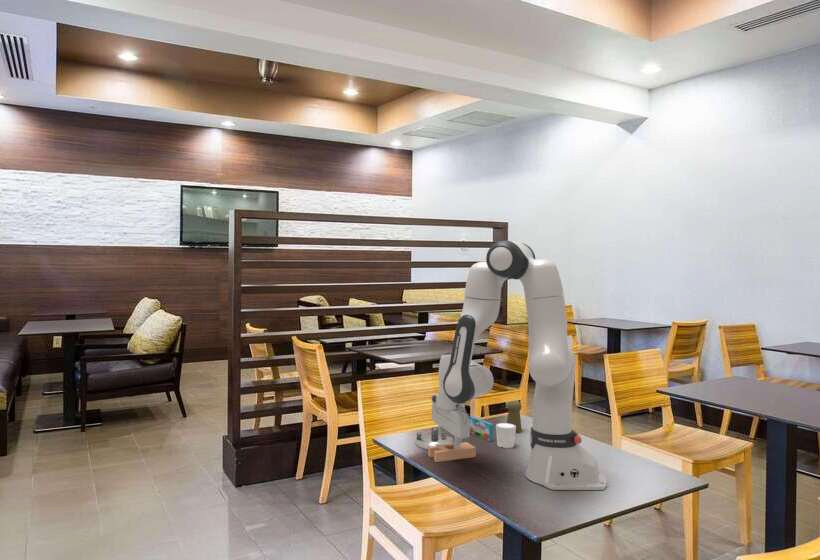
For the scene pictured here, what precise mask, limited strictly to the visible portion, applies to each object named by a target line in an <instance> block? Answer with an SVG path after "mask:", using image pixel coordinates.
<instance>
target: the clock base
mask: <svg viewBox="0 0 820 560" xmlns="http://www.w3.org/2000/svg"><path fill="white" fill-rule="evenodd" d="M430 429H431V431H430V432H431V433H430V434H428V433H427V434H423V435H422V432H416V438H415V445H416V446H417V447H418V448H419V449H422V450H426V451H428V447H430V446H439V445H447V444H453V443H454V442H455V439H454V438H453V437H451V436H449V435H447V436H446V440H441V439H440V433H439V429H438V427H431V428H430Z"/></svg>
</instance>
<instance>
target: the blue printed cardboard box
mask: <svg viewBox="0 0 820 560" xmlns="http://www.w3.org/2000/svg"><path fill="white" fill-rule="evenodd" d="M469 420H470V433H471V434H470V435H472V434H473V436H475V437H477V436H478V437H477V438H479V437H480V438H479V439H482V440H484V439H485V440H484V441H486V440H487V441H486V442H493V436H494V435H493V434H494V430H493V429H494V424H493V423H492V422H489V421H486V420H483V419H481V418H478V417H476V416H473V415H471V416H470V415H469Z"/></svg>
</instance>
